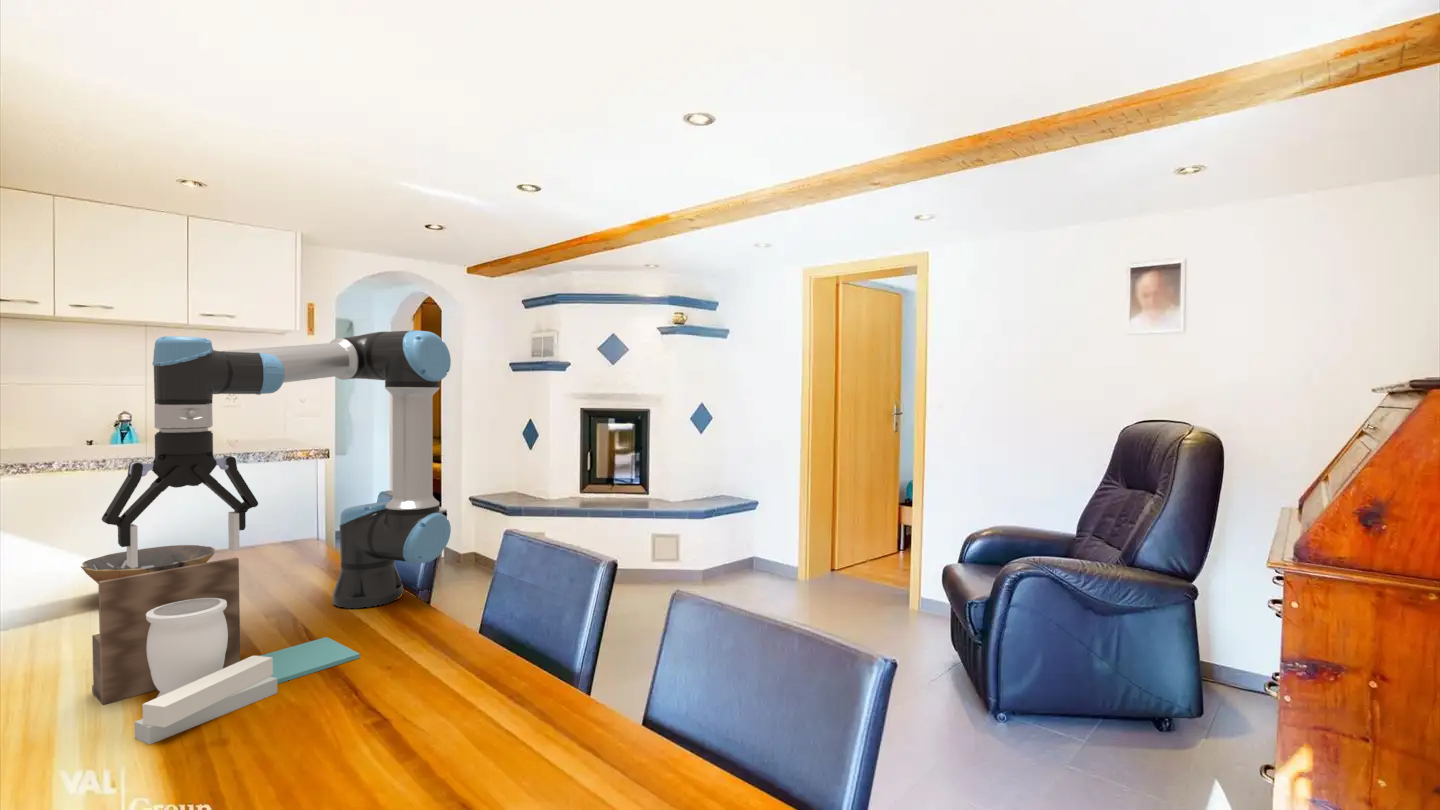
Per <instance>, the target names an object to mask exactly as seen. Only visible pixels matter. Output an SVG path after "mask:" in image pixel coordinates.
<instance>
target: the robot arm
mask: <svg viewBox="0 0 1440 810" xmlns="http://www.w3.org/2000/svg"><path fill="white" fill-rule="evenodd" d="M152 357H153V358H152V359H153V360H152V367H153V389H154V391H153V393H154V396H153V397H154V408H153V409H154V410H153V411H154V428H155V429H157V430H159V431H157V432H156V433H155V434H154V459H153V461H152V462H151V463H147V462H145V463H144V462H137V461H132V462H130V463H129V464H128V470H127V476H126V477H125V479H124V480H123V483H122V484H121V486H120V488H119V489H118V490H117V492H116V494H115V495H114V497H113V499H112V500H111V502H110V504H109V505H108V507H107V509H106V510H105V512H104V514H103V515H102V517H101V521H102V522H103V523H105V524H107V525H112V526H116V527H117V544H118V546H119V547H122V548H126V551H127V566H129V567H131V568H135V567H138V550H139V549H138V545H139V544H138V541H139V540H138V525H136V524H134V523H133V522H134V521H135V520H136V519H137V518H139V517H140V515H141V514H142V513H143V512H144V511H145V510H146V509H147V508H148V507H149V506H150V505H151V504H152V503H153V502H154V501H155V500H156V499H157V498H158V497H159V495H161V494H162V493H163V492H164V491H166V490H167V489H168V488H169V487H170V488H171V487H172V488H174V489H175V488H182V487H186V486H190V487H197V486H199V485H201V484H203V485H204V486H206V487H207V488H209V490H211V492H213V493H214V494H215V495H217V496H218V498H220V499H221V500H222V501H224V503H226V505H228V506H229V507H230V508H231V509H233V510H234V511H228V515H227V517H228V519H227V521H228V550H230V551H233V552H239V551H240V531H245V529H246V525H247V524H246V515H247V514H246V513H247V512H248V510H250V509H252V508H256V507H257V506H259V502H258V500H257V498H256V496H255V495H254V494H253V492H252V490H251V489H250V487H249V485H248V484H247V482H246V480H245V479H244V478H243V476H242V475H241V473H240V471H239V469H238V465H237V459H236V457H234V456H231V455H230V456H229V455H224V456H223V457H219V458H215V457H214V434H213V432H212V431H211V430H209V428H212V427H213V397H214V395H220V394H221V395H258V396H259V395H260V396H261V395H263V394H264V395H265V394H267V395H268V394H274V393H276V392H278V391H279V390H280V389H281V388H282V386H283V384H284V383H292V382H299V381H301V382H302V381H307V380H308V381H309V380H317V379H323V378H324V379H325V378H333V377H335V378H337V379H339V380H344V381H345V380H351V379H353V380H354V379H355V380H356V379H357V380H358V379H359V380H360V379H361V380H362V379H363V380H374V381H375V380H376V381H384V389H385V390H386V391H387V392H388V393H389V394H391V396H392V399H391V400H392V403H391V404H392V498H391V500H390V501H380V502H379V501H378V502H372V503H366V504H360V505H355V506H351V507H347V508H345V509H344V510H342V512H341V513H340V521H339V522H340V523H339V544H340V548H339V549H340V573H339V576H338V578H337V581H336V583H335V587H334V589H333V592H332V604H334V605H336V606H339V607H338V608H340V607H345V608H344V609H351V608H353V609H364V608H363V607H367V608H372V607H371V606H374V607H378V606H377V605H379V606H383V605H382V604H384V605H387V604H390V603H392V602H391V601H393V600H395V599H397V598H398V597H400V596H401V594H403V595H404V585H403V582H402V580H401V576H400V574H399V571H398V568H397V567H396V561H398V562H407V563H408V564H416V563H418V564H425V563H426V564H427V563H430V562H432V561H434V560H435V559H437V558H438V557H439V556H440V555H441V554H442V553H443V550H445V549H446V547H447V545H448V543H449V540H450V537H451V530H452V527H451V522H450V520H449V519H448V517H447V516H446V515H445V514H443V513H441V512H440V511H441V509H440V501H439V500H437V499H436V498H435V496H434V495H433V494H434V493H433V492H434V489H433V488H434V487H433V479H434V477H433V476H434V475H433V471H434V470H433V468H434V467H433V465H434V460H433V458H434V457H433V450H434V449H433V444H434V443H433V437H434V436H433V435H434V434H433V433H434V431H433V429H434V428H433V427H434V425H433V424H434V423H433V419H434V418H433V416H434V415H433V413H434V411H433V407H434V406H433V400H434V399H433V396H434V395H435V394H436V393H437V392H438V391H439V390H440V388H441V387H440V384H441V383H440V381H442V380H443V379H444V378H446V377H447V375H448V373H449V372H450V369H451V364H452V363H451V361H452V360H451V353H450V350H449V348H448V346H447V344H446V343H445V342H444V341H443V339H442V338H441V337H440V336H439V335H437V334H436V333H435V332H432V331H427V330H418V329H417V330H415V329H414V330H401V331H400V330H399V331H397V330H395V331H394V330H393V331H376V332H370V333H365V334H361V335H353V336H349V337H347V336H346V337H336V338H334V339H332V340H331V341H330V342H329V343H327V342H326V343H314V344H313V343H312V344H299V345H285V346H272V347H259V348H243V349H230V350H229V349H228V350H214V348H213V343H212V341H211V340H210V339H209V338H206V337H199V336H182V335H181V336H179V335H178V336H177V335H175V336H174V335H171V336H169V335H167V336H164V335H163V336H159V337H158V338H157V339H156V340H155V342H154V348H153V356H152ZM216 467H218V468H219V469H220V470H223V471H224V472H225V474H226V475H227V478H228V479H229V480H230V483H232V485H233V487H234V488H235V490H236V491H237V493H238V495H239V497H240V498H241V499H242V502H241V501H240V499H238V498H237V497H236V496H234V495H233V494H232V493H231V492H230V491H229V490H227V488H225V487H224V486H223V485H222V484H221V483H220V482H219V480H217V479H216V478H215V477H214V476H212V474H211V473H212V472H213V471H214V469H215V468H216ZM150 471H152V472H153V473H154V474H155V475H156V476H157V477H156V478H155V480H153V482H152V483H151V484H150V486H149V487H148V488H147V489H146V490H145V491H144V492H143V493H142V494H141V495H140V496H139V497H138V498H137V499H136V500H135V501H134V502H133V503H132V504H131V505H130V506H129V507H128V509H126V511H124V512H123V510H124V508H125V507H126V505H127V504H128V501H130V499H131V496H132V495H133V493H134V492H135V490H136V488H137V487H138V485H139V484H140V482H141V479H142V477H146V476H147V474H148V473H149V472H150ZM122 512H123V514H122V515H121V513H122ZM389 602H390V603H389ZM393 602H394V601H393ZM386 603H387V604H386ZM334 605H333V606H334ZM336 606H335V607H336ZM361 607H362V608H361Z"/></svg>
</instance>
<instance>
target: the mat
mask: <svg viewBox="0 0 1440 810" xmlns="http://www.w3.org/2000/svg"><path fill="white" fill-rule="evenodd" d="M259 656H263V657H273V675H271V677H274V678H277V685H280V684H283V683H285V682H288V680H289V681H292V680H294V679H298V678H301V677H304V676H308V675H310V674H313V673H314V674H315V673H317V672H319V671H323V670H327V669H329V668H332V667H336V666H339V665H341V664H344V663H349V662H350V661H353V660H354V661H355V660H357V659H360V658H361V654H360V653H359V652H357V651H355V650H353V649H351V648H350V647H347V646H345V645H344V644H342V643H340V642H338V641H336V640H334V639H331V638H330V637H328V636H324V637H322V638H318V639H314V640H311V641H307V642H304V643H300V644H296V645H293V646H289V647H286V648H285V647H284V648H282V649H279V650H275V651H272V652H268V653H265V654H262V655H259Z"/></svg>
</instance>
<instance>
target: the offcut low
mask: <svg viewBox="0 0 1440 810" xmlns="http://www.w3.org/2000/svg"><path fill="white" fill-rule="evenodd" d="M276 694H278V684H277V678H274V677H271V676H269V677H267V678H265V679H263V680H261V681H259V682H257V683H255V684H253V685H251V686H249V687H247V688H245V689H243V690H241V691H239V692H237V693H235V694H232V695H230V696H228V697H226V698H224V699H222V700H220V701H218V702H216V703H214V704H212V705H210V706H208V707H206V708H204V709H202V710H200V711H198V712H195V713H193V714H191V715H189V716H187V717H185V718H183V719H181V720H179V721H177V722H175V723H173V724H171V725H169V726H167V727H158V726H151V725H144V724H143V718H140V719H138V720H135V721H134V739H136V740H138V741H140V742H142V743H144V744H146V745H149V746H150V745H153V744H155V743H157V742H159V741H163V740H165V739H167V738H170V737H172V736H175V735H177V734H179V733H182V732H184V731H186V730H189V729H192V728H194V727H196V726H199V725H201V724H205V723H207V722H210V721H211V720H215V719H217V718H219V717H221V716H224V715H227V714H229V713H232V712H234V711H237V710H239V709H242V708H244V707H247V706H249V705H251V704H254V703H257V702H258V701H262V700H264V699H266V698H268V697H271V696H274V695H276Z"/></svg>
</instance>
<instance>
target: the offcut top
mask: <svg viewBox="0 0 1440 810" xmlns="http://www.w3.org/2000/svg"><path fill="white" fill-rule="evenodd" d="M271 675H273V657H263V656H260V655H251V656H249V657H246V658H244V659H242V660H240V661H239V662H237V663H235V664H233V665H230V666H228V667H226V668H224V669H221V670H219V671H217V672H214V673H212V674H210V675H208V676H205V677H203V678H201V679H199V680H196V681H194V682H192V683H189V684H187V685H185V686H183V687H180V688H178V689H176V690H174V691H171V692H169V693H167V694H164V695H162V696H160V697H158V698H157V697H156V698H153V699H151V700H148V701H147V702H144V703H142V719H143V724H144V725H151V726H158V727H167V726H169V725H171V724H173V723H175V722H177V721H179V720H181V719H183V718H185V717H187V716H189V715H191V714H193V713H195V712H198V711H200V710H202V709H204V708H206V707H208V706H210V705H212V704H214V703H216V702H218V701H220V700H222V699H224V698H226V697H228V696H230V695H232V694H235V693H237V692H239V691H241V690H243V689H245V688H247V687H249V686H251V685H253V684H255V683H257V682H259V681H261V680H263V679H265V678H267V677H269V676H271Z"/></svg>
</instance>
